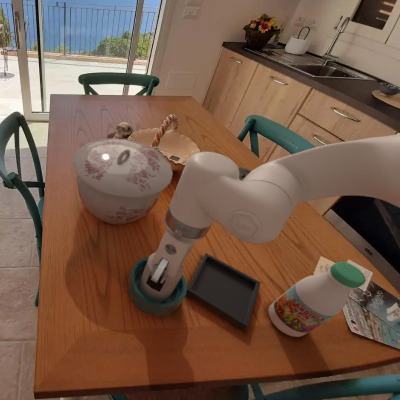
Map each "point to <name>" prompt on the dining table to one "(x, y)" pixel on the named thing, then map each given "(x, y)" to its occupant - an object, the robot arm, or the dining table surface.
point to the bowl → (149, 305)
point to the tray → (224, 290)
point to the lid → (243, 173)
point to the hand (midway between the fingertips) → (161, 273)
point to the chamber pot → (120, 178)
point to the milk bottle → (315, 299)
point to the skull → (122, 131)
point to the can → (167, 286)
